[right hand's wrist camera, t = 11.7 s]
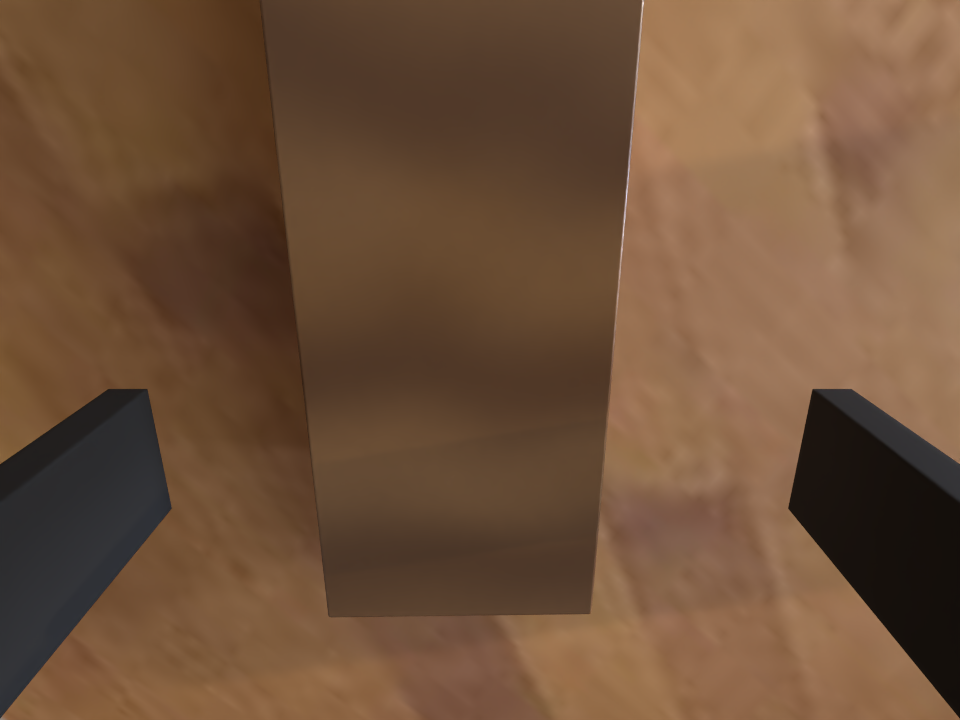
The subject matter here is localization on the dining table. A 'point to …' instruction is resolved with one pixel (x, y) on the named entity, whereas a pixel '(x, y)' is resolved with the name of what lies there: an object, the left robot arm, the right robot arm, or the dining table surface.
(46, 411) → the dining table surface
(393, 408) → the post
